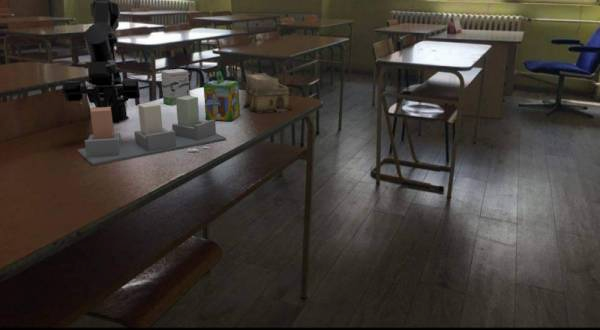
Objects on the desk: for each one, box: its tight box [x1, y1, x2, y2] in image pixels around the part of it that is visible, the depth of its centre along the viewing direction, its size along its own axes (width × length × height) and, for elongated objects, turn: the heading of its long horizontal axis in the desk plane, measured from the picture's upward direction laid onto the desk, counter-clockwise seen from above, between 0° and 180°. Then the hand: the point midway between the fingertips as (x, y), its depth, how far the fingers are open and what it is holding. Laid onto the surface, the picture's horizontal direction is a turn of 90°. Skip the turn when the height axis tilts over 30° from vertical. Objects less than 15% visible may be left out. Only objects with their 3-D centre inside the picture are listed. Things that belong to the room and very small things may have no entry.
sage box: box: [175, 95, 200, 127], centre depth 142 cm, size 4×4×10 cm
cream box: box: [137, 101, 163, 135], centre depth 133 cm, size 4×4×10 cm
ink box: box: [161, 68, 191, 106], centre depth 181 cm, size 9×5×12 cm, turn 134°
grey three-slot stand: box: [77, 120, 227, 166], centre depth 134 cm, size 14×36×5 cm, turn 128°
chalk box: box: [202, 70, 241, 122], centre depth 161 cm, size 9×9×15 cm
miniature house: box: [243, 72, 291, 113], centre depth 174 cm, size 15×14×11 cm
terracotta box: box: [89, 107, 115, 140], centre depth 128 cm, size 4×4×10 cm
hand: (102, 117), depth 130 cm, fingers closed
